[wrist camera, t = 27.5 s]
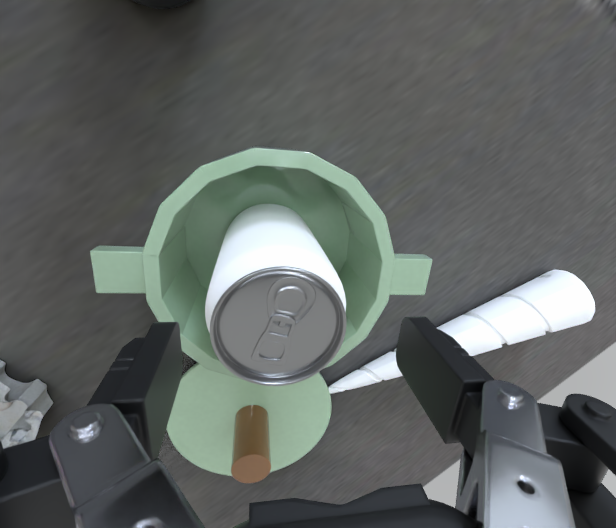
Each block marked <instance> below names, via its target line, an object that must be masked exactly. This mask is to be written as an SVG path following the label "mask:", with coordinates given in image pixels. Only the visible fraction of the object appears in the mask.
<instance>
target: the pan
mask: <svg viewBox="0 0 616 528" xmlns="http://www.w3.org/2000/svg"><path fill="white" fill-rule="evenodd" d="M259 204H277V205H281V206H285V207H287V208H290V209H292V210H293V211H295V212H296V213H297V214H298V215H299V216H300V217H301V218H302V219H303V220H304V222H305V223H306V224H307V226H308V227H309V229H310V230H311V232H312V234H313V235H314V237H315V238H316V240H317V242H318V243H319V245H320V246H321V248H322V250H323V251H324V253H325V254H326V256H327V258H328V259H329V261H330V263H331V264H332V266H333V268H334V269H335V271H336V273H337V275H338V277H339V279H340V281H341V283H342V286H343V289H344V292H345V298H346V333H345V337H344V340H343V343H342V345H341V348H340V349H339V351H338V353H337V354H336V356H335V357H334V358H333V360H332V361H331V362H330V363H329V364H328V365H327V366H326V367H329V366H331V365H332V364H335V363H336V362H337V361H338V360H339V359H341V358H342V357H343V356H344V355H346V354H347V353H348V352H349V351H351V350H352V349H353V348H354V347H356V346H357V345H358V344H359V343H361V342H362V341H363V340H364V339H365V338H366V337H367V336H368V334H369V332H370V331H371V329H372V328H373V326H374V324H375V323H376V321H377V319H378V318H379V316H380V315H381V313H382V311H383V310H384V308H385V306H386V305H387V303H388V299H389V295H425V291H426V287H427V282H428V278H429V273H430V269H431V264H432V259H431V258H429V257H428V256H426V255H421V254H394V251H393V247H392V242H391V238H390V234H389V229H388V225H387V221H386V217H385V215H384V213H383V212H382V211H381V209H380V208H379V207H378V205H377V204H376V203H375V201H374V200H373V199H372V198H371V196H370V195H369V194H368V192H367V191H366V190H365V188H364V187H363V186H362V184H361V183H360V182H359V180H358V179H357V178H356V177H355V176H353V175H351V174H349V173H347V172H345V171H344V170H342V169H340V168H338V167H336V166H334V165H333V164H331V163H329V162H327V161H325V160H323V159H321V158H320V157H318V156H316V155H314V154H312V153H309V152H306V151H301V150H296V149H287V148H275V147H262V146H252V147H249V148H246V149H244V150H241V151H238V152H235V153H232V154H229V155H226V156H223V157H221V158H218V159H215V160H213V161H211V162H209V163H207V164H204V165H202V166H201V167H199V168H198V169H197V170H196V171H194V172H193V173H192V174H191V175H190V176H189V177H188V178H187V179H186V180H185V181H184V182H183V183H182V184H181V185H180V186H179V187H178V188H177V189H176V190H175V191H174V192H173V193H172V194H171V195H170V196H168V197H167V198H166V199H165V200H164V201H163V202H162V203H161V205H160V206H159V208H158V211H157V213H156V216H155V219H154V222H153V224H152V227H151V230H150V232H149V235H148V238H147V240H146V243H145V246H144V247H131V246H97V247H95V248H94V249H92V250H91V251H90V255H91V261H92V268H93V274H94V281H95V287H96V292H97V293H146V301H147V303H148V305H149V307H150V308H151V310H152V312H153V313H154V315H155V317H156V318H157V320H158V322H178V323H179V326H180V337H181V348H182V351H183V352H184V353H186V354H187V355H188V356H190V357H191V358H192V359H194V360H195V361H196V362H198V363H199V364H200V365H202V366H203V367H204V368H206V369H208V370H212V371H215V372H218V373H222V374H225V375H229V376H232V377H235V378H239V377H237V376H236V375H234V374H233V373H231V372H230V371H229V370H228V369H227V368H226V367H225V366H224V365H223V364H222V363H221V362H220V360H219V359H218V357H217V356H216V354H215V352H214V350H213V347H212V344H211V339H210V333H209V331H208V328H207V324H206V318H205V303H206V297H207V293H208V289H209V285H210V282H211V278H212V275H213V272H214V268H215V265H216V262H217V259H218V256H219V253H220V250H221V246H222V243H223V240H224V237H225V235H226V232H227V230H228V227H229V226H230V224H231V222H232V221H233V220H234V219H235V218H236V216H238V215H239V214H240V213H241V212H242V211H244V210H246V209H247V208H250V207H252V206H255V205H259ZM326 367H325V368H326ZM239 379H241V378H239ZM242 380H243V379H242Z"/></svg>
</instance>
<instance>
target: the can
mask: <svg viewBox="0 0 616 528" xmlns="http://www.w3.org/2000/svg"><path fill="white" fill-rule="evenodd" d="M205 318H206V324H207V328H208V331H209V333H210V339H211V344H212V347H213V350H214V352H215V354H216V356H217V357H218V359H219V360H220V362H221V363H222V364H223V365H224V366H225V367H226V368H227V369H228V370H229V371H230V372H231V373H233V374H234V375H236V376H237V377H239V378H241V379H243V380H245V381H248V382H251V383H254V384H258V385H264V386H284V385H290V384H294V383H298V382H301V381H303V380H306V379H308V378H310V377H312V376H314V375H315V374H317V373H318V372H320V371H321V370H322V369H324V368H325V367H326V366H327V365H328V364H329V363H330V362H331V361H332V360H333V358H334V357H335V356H336V354H337V353H338V351H339V349H340V348H341V345H342V343H343V340H344V337H345V333H346V298H345V292H344V289H343V286H342V283H341V281H340V279H339V277H338V275H337V273H336V271H335V269H334V268H333V266H332V264H331V263H330V261H329V259H328V258H327V256H326V254H325V253H324V251H323V250H322V248H321V246H320V245H319V243H318V242H317V240H316V238H315V237H314V235H313V234H312V232H311V230H310V229H309V227H308V226H307V224H306V223H305V222H304V220H303V219H302V218H301V217H300V216H299V215H298V214H297V213H296V212H295V211H293V210H292V209H290V208H287V207H285V206H281V205H277V204H259V205H255V206H252V207H250V208H247V209H246V210H244V211H242V212H241V213H240V214H239V215H238V216H236V218H235V219H234V220H233V221H232V222H231V224H230V226H229V227H228V230H227V232H226V235H225V237H224V240H223V243H222V246H221V250H220V253H219V256H218V259H217V262H216V265H215V268H214V272H213V275H212V278H211V282H210V285H209V289H208V293H207V297H206V303H205Z"/></svg>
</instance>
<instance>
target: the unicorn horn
mask: <svg viewBox="0 0 616 528" xmlns="http://www.w3.org/2000/svg"><path fill="white" fill-rule="evenodd" d="M594 312H595V302H594V300H593V297H592V295H591V293H590V291H589V290H588V288H587V287H586V286H585V284H584V283H583V282H582V281H581V280H580V279H579V278H577V277H576V276H575V275H573V274H571V273H569V272H567V271H562V270H552V271H549V272H547V273H545V274H543V275H541V276H539V277H537V278H535V279H533V280H531V281H529V282H527V283H525V284H523V285H521V286H519V287H517V288H515V289H513V290H511V291H509V292H507V293H505V294H503V295H501V296H499V297H497V298H495V299H493V300H491V301H489V302H487V303H485V304H483V305H481V306H479V307H477V308H475V309H473V310H471V311H469V312H467V313H465V314H463V315H461V316H459V317H457V318H455V319H453V320H451V321H449V322H447V323H445V324H443V325H441V326H439V327H437V329H440V330H441V331H443V332H445V333H446V334H448V335H450V336H451V337H453V338H454V339H455V340H456V341H457V342H458V343H459V344H460V345H461V348H464V349H465V350H466V351H467V352H468V353H469V356H474V355H477V354H480V353H484V352H487V351H491V350H494V349H497V348H501V347H502V345H501V344H503V343H507V344H508V345H511V344H514V343H518V342H521V341H524V340H528V339H531V338H535V337H538V336H542V335H545V334H546V333H545V331H549V332H555V331H559V330H562V329H565V328H569V327H572V326H576V325H580V324H583V323H586V322H588V321H591V319H592V317H593V315H594ZM396 349H397V348H396ZM396 349H394V351H393V352H391V351H390V352H388V353H387V354H385V355H383V356H381V357H379V358H377V359H375V360H374V361H372V362H370V363H368V364H366V365H364V366H362V367H361V368H360V369H359V370H355V371H353V372H352V373H350V374H348V375H347V376H345V377H343V378H341V379H340V380H338V381H336V382H335V383H333V384H332V385H330V386H329V387H328V389H329V393H330V394H331V393H336V392H342V391H345V390H350V389H354V388H358V387H362V386H366V385H370V384H374V383H378V382H381V381H382V379H383V380H389V379H392V378H396V377H400V376H403V375H402V373H401V372H400V370H399V368H398V366H397V362H396Z"/></svg>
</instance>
